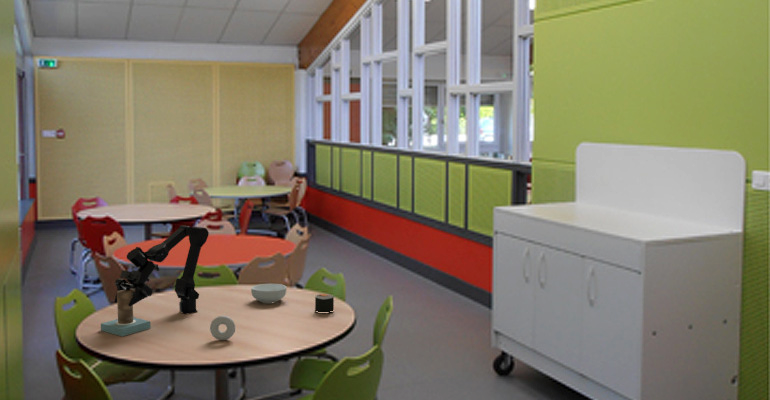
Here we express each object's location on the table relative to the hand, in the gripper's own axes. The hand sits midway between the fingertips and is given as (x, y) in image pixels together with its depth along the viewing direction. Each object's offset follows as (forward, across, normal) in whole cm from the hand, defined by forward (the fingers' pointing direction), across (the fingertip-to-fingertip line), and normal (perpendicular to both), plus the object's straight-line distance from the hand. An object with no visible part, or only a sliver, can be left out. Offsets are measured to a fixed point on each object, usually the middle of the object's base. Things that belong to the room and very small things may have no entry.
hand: (122, 304), depth 302 cm
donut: (-2, +44, +18) cm, 47 cm away
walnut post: (+5, 0, +7) cm, 8 cm away
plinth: (+7, 0, +9) cm, 11 cm away
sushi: (-42, +50, +58) cm, 88 cm away
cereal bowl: (-42, +17, +58) cm, 73 cm away
